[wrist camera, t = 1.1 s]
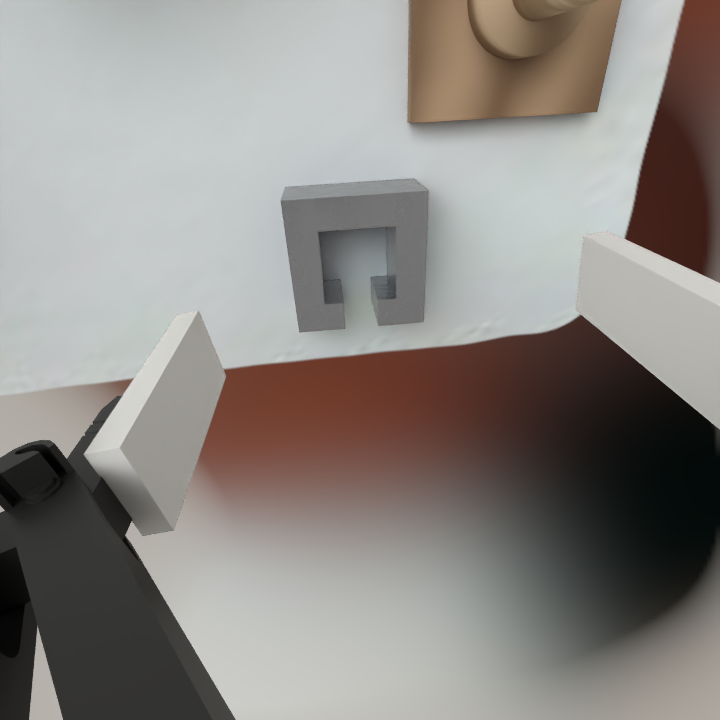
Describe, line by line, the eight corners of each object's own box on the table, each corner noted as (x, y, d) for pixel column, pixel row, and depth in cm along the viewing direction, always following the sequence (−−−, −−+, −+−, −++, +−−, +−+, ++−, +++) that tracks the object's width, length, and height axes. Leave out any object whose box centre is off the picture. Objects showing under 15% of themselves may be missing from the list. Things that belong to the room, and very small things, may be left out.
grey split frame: (411, 297, 34) (423, 321, 31) (301, 305, 34) (299, 332, 30) (414, 178, 30) (428, 190, 26) (285, 187, 29) (280, 200, 25)
